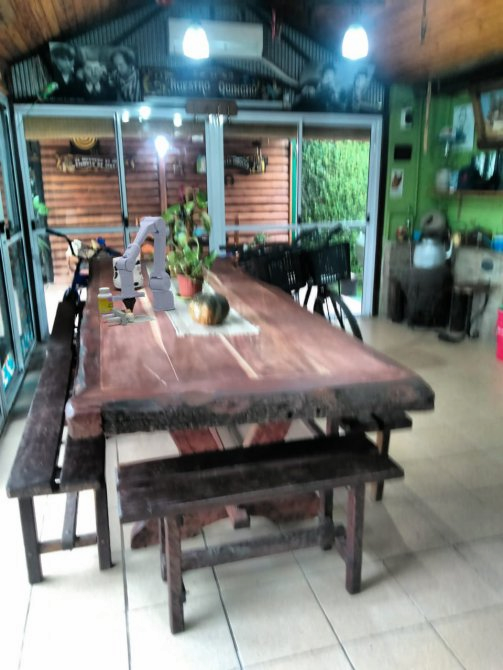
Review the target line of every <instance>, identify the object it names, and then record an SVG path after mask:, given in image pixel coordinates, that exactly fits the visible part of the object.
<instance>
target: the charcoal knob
mask: <svg viewBox="0 0 503 670" xmlns="http://www.w3.org/2000/svg"><path fill="white" fill-rule="evenodd" d="M125 310H127V309H126V308H125V309H121V310H120V311H122V312H123V313H125ZM125 314H126V313H125ZM114 317H116V313H113V314H107V315H103V316H102V319H103V320H107V319H108V318H114Z"/></svg>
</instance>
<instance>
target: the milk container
mask: <svg viewBox="0 0 503 670" xmlns="http://www.w3.org/2000/svg"><path fill="white" fill-rule="evenodd" d="M140 257H141V256H138V257H137V259H136V262H135V268H134V270H133V278H134V289H135V290H136V289H141V288H142V287H143V286H144V276H143V274H142V265H141V258H140ZM119 258H122V256H118V257H116V256H115V257H113V258H112V265H113V266H112V268H113V278H112V283H113V286H114V288H115V289H117V290H120V291H121V281H120V274H119V271H118V269H117V267H116V264H117V261H118V259H119Z"/></svg>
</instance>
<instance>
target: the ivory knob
mask: <svg viewBox="0 0 503 670" xmlns="http://www.w3.org/2000/svg"><path fill="white" fill-rule="evenodd" d="M134 316H135V315H134V313H126V320H127V321H134ZM117 321H122V316H120V317H114V318H108V319H106V322H107V323H108V324H109V323H115V322H117Z"/></svg>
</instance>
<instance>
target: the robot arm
mask: <svg viewBox="0 0 503 670" xmlns="http://www.w3.org/2000/svg"><path fill="white" fill-rule="evenodd" d="M166 224H167V221H165V219H164V218H163V217H162V216H143V217H142V218H141V221H140V222H139V229H138V231H137V234H136V236H135V238H134V240H133V241H132V242H131V243H129V244H127V246H126V248H125V251H124V253H123V254H122V256H121V257H122V258H119V259H118V261H117V264H116V267H117V269H118V271H119V274H120V281H121V290H120V291H121V294H118V295H112V301H113V302H116V301H121V302H122V303H123V304H124V306H125V309H130V310H131V313H133V312H134V307H135V304H136V302H137V298H145V297H146V296H145V292H144V291H141V292H136V291H135V290H136V289H134V278H133V270H134V268H135V262H136V259H137V257H139V255H140V253H141V251H142V249H141V246H142V245H143V243H144V241H145V240H146V239H147V237H148V235H151V236H152V237H153V239H154V240H153V271H152V272H151V273H150V274H149V277H148V278H149V279H148V283H147V284H148V288H149V289H150V292H152V301H153V307H151V308H150V309H152V310H153V311H156V312H160V311H161V312H162V311H164V312H166V311H170V310H175V309H176V308H175V299H174V293H173V291H172V290H171V287H172V284H171V277H170V275H169V273H167V272H166V250H167V247H166V245H167V244H166V243H167V231H166V229H167V228H166V227H167V225H166ZM133 314H134V313H133Z"/></svg>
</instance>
